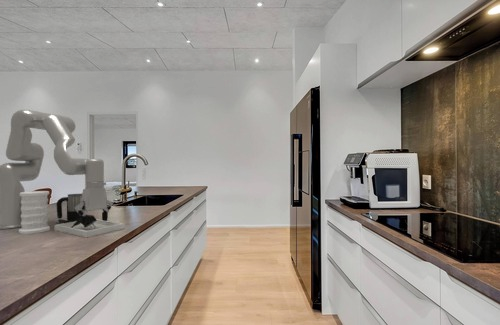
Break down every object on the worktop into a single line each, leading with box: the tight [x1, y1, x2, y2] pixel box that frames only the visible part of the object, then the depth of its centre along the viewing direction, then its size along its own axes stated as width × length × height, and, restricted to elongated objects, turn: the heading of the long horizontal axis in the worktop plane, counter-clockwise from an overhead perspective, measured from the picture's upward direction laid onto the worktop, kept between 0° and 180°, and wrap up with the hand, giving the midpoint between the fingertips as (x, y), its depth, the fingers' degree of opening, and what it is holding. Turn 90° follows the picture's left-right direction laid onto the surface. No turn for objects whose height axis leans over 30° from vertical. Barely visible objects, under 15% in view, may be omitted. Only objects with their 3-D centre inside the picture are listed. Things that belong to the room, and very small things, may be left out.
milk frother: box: [56, 193, 82, 224], centre depth 146 cm, size 14×16×15 cm
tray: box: [54, 218, 126, 239], centre depth 131 cm, size 26×18×2 cm
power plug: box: [70, 214, 97, 229], centre depth 131 cm, size 6×8×12 cm
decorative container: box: [18, 190, 51, 235], centre depth 129 cm, size 12×12×18 cm
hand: (94, 222), depth 129 cm, fingers open, 9 cm apart
